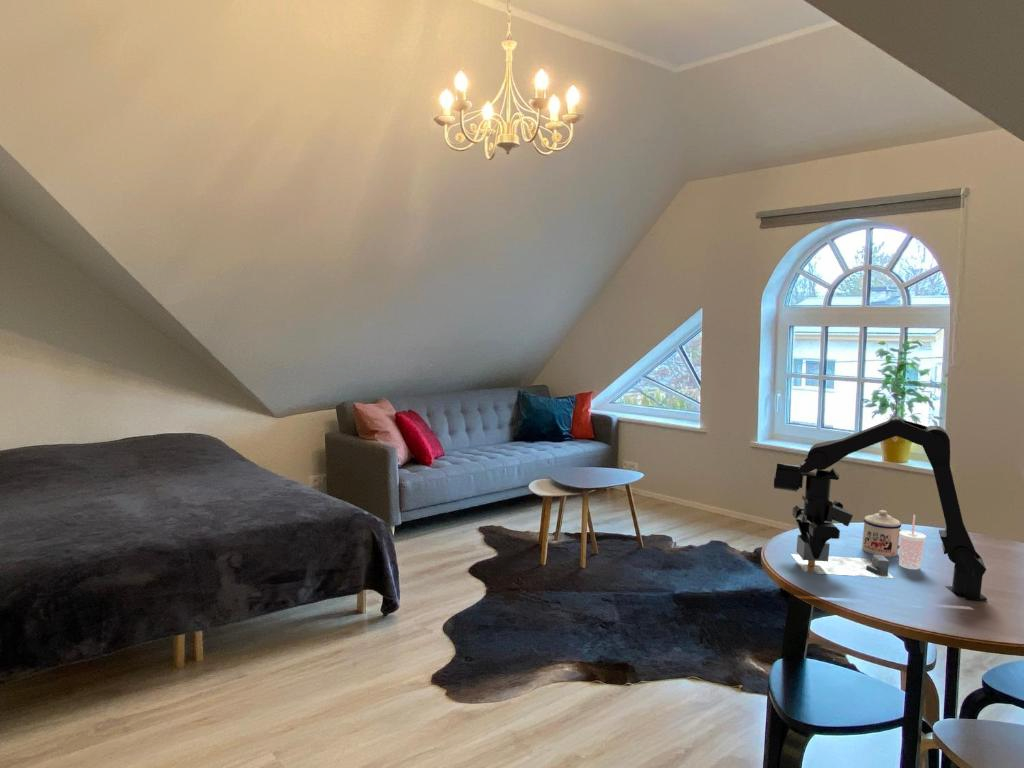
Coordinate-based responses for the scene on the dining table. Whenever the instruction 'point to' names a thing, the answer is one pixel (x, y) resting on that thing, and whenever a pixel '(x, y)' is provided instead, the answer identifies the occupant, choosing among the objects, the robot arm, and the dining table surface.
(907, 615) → the dining table surface
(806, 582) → the dining table surface
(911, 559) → the beverage cup
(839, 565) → the tie plate
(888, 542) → the teacup with lid
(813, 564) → the post
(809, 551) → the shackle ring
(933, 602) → the dining table surface
